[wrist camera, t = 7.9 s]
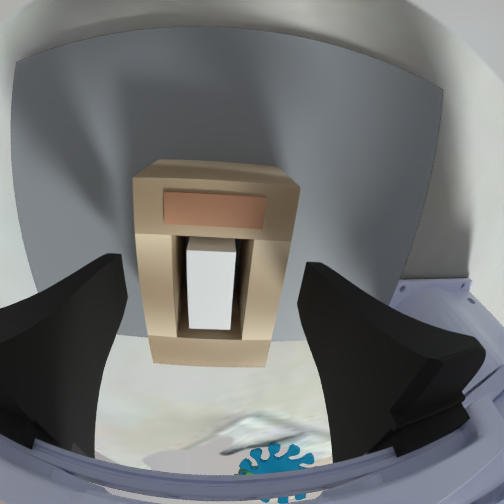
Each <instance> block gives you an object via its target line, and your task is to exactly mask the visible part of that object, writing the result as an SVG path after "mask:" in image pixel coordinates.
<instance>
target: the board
mask: <svg viewBox="0 0 504 504" xmlns="http://www.w3.org/2000/svg"><path fill="white" fill-rule="evenodd" d="M442 99H443V89H441V88H440V87H438V86H436V85H434V84H432V83H430V82H428V81H426V80H424V79H422V78H420V77H418V76H416V75H414V74H412V73H410V72H407V71H405V70H403V69H401V68H398V67H396V66H393V65H391V64H389V63H386V62H384V61H381V60H378V59H376V58H373V57H370V56H367V55H364V54H361V53H359V52H355V51H352V50H349V49H346V48H343V47H339V46H336V45H332V44H328V43H324V42H320V41H316V40H312V39H308V38H303V37H298V36H293V35H287V34H282V33H275V32H269V31H261V30H253V29H243V28H230V27H206V26H188V27H164V28H152V29H142V30H134V31H126V32H120V33H114V34H108V35H103V36H98V37H94V38H89V39H85V40H81V41H77V42H73V43H70V44H66V45H63V46H59V47H56V48H53V49H50V50H47V51H44V52H41V53H38V54H36V55H33V56H30V57H28V58H25V59H23V60H20V61H18V62H16V67H15V74H14V82H13V92H12V105H11V160H12V173H13V183H14V192H15V199H16V206H17V212H18V218H19V223H20V228H21V233H22V237H23V242H24V246H25V250H26V254H27V258H28V261H29V265H30V268H31V272H32V275H33V278H34V282H35V285H36V288H37V291H38V293H39V292H41V291H43V290H45V289H47V288H49V287H51V286H52V285H54V284H56V283H57V282H59V281H61V280H62V279H64V278H66V277H68V276H69V275H71V274H73V273H74V272H76V271H77V270H79V269H80V268H82V267H84V266H85V265H87V264H89V263H90V262H92V261H93V260H95V259H97V258H99V257H100V256H102V255H104V254H107V253H116V254H122V262H123V269H124V275H125V282H126V288H127V293H128V300H127V304H126V308H125V312H124V315H123V319H122V321H121V324H120V326H119V329H118V332H117V334H119V335H128V336H138V337H148V333H147V328H146V322H145V316H144V309H143V303H142V296H141V288H140V281H139V272H138V263H137V252H136V240H135V226H134V206H133V177H134V176H136V175H137V174H138V173H140V172H141V171H143V170H144V169H145V168H147V167H148V166H150V165H151V164H153V163H154V162H156V161H157V160H159V159H171V160H201V161H219V162H233V163H246V164H257V165H267V166H276V167H279V168H280V169H281V170H282V171H283V172H284V173H286V174H287V175H288V176H289V177H290V178H291V179H292V180H293V181H294V182H295V183H297V184H298V185H299V186H300V187H301V190H300V196H299V202H298V208H297V213H296V219H295V225H294V230H293V236H292V241H291V246H290V252H289V257H288V262H287V267H286V272H285V277H284V282H283V287H282V292H281V297H280V302H279V306H278V311H277V316H276V320H275V325H274V330H273V334H272V339H271V341H300V340H307V339H306V336H305V334H304V331H303V328H302V325H301V321H300V317H299V312H298V307H297V301H298V296H299V292H300V288H301V283H302V279H303V274H304V270H305V265H306V262H321V263H323V264H325V265H327V266H328V267H330V268H331V269H333V270H334V271H336V272H337V273H339V274H340V275H341V276H343V277H344V278H346V279H347V280H349V281H350V282H351V283H353V284H354V285H356V286H357V287H359V288H360V289H362V290H363V291H365V292H366V293H368V294H369V295H371V296H372V297H374V298H376V299H377V300H379V301H381V302H382V303H384V304H386V305H388V306H389V304H390V302H391V299H392V297H393V295H394V292H395V290H396V287H397V285H398V282H399V280H400V277H401V274H402V272H403V269H404V266H405V264H406V261H407V258H408V255H409V252H410V249H411V246H412V243H413V240H414V237H415V234H416V231H417V227H418V224H419V221H420V217H421V214H422V210H423V206H424V202H425V199H426V195H427V190H428V186H429V182H430V177H431V173H432V168H433V163H434V158H435V152H436V146H437V140H438V134H439V126H440V119H441V110H442ZM241 240H242V239H236V238H218V237H199V236H184V260H185V286H186V287H187V292H188V315H189V328H192V329H219V330H230V326H231V312H232V298H233V289H237V279H238V269H239V259H240V250H241Z"/></svg>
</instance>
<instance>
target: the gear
mask: <svg viewBox="0 0 504 504" xmlns="http://www.w3.org/2000/svg"><path fill="white" fill-rule="evenodd" d="M268 450H269V452H270V457H269V459H267V460H262V459H261V454H262V450H261V449H260V448H256V449H253V450H251V452H250V456H251V457H252V458H254V459H255V460H256V462H257V464H258V466H252V462H251V461H250V460H249V459H244V460H243V461H242V462H241V463H240V465H239V467H240V470H239V472H238V473H239V474H234V475H252V474H266V473H277V472H285V471H293V470H300V469H306V468H305V467H301V466H299V464H301V463H305V464H313V463H314V457H313V455H312V453H308V454H306V455H305V456H304V457H302V458H299V459H294V460H291V459H289V458H288V457H290V456H295V455H298V454H299V452H300V448H299V447H298V446H296V445H294V444H292V445H290V447H289V449H288V452H287V453H286V454H284V455H283V456H281V457H276V456H274V454H276V453H278V452H279V450H280V444H276V443H271V444H270V445H269V448H268ZM315 467H318V466H315ZM303 498H306V494H301V495H295V499H296V500H301V499H303ZM269 500H270V499H261V501H263V502H265V503H266V502H269ZM278 503H280V504H284V503H288V497H280V498H278Z"/></svg>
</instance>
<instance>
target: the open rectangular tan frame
mask: <svg viewBox="0 0 504 504" xmlns="http://www.w3.org/2000/svg"><path fill="white" fill-rule="evenodd" d="M300 190H301V187H300V186H299V185H298V184H297V183H295V182H294V181H293V180H292V179H291V178H290V177H289V176H288V175H287V174H286V173H284V172H283V171H282V170H281V169H280V168H279V167H276V166H267V165H257V164H246V163H233V162H219V161H201V160H171V159H159V160H157V161H156V162H154V163H153V164H151V165H150V166H148V167H147V168H145V169H144V170H143V171H141V172H140V173H138V174H137V175H136V176H134V177H133V206H134V226H135V240H136V252H137V263H138V272H139V281H140V288H141V296H142V303H143V309H144V316H145V322H146V328H147V333H148V339H149V344H150V349H151V354H152V358H153V363H159V364H171V365H185V366H203V367H265V365H266V360H267V356H268V352H269V347H270V343H271V339H272V334H273V330H274V325H275V320H276V316H277V311H278V306H279V302H280V297H281V292H282V287H283V282H284V277H285V272H286V267H287V262H288V257H289V252H290V246H291V241H292V236H293V230H294V225H295V219H296V213H297V208H298V202H299V196H300ZM184 236H199V237H218V238H236V239H242V240H241V250H240V259H239V269H238V279H237V289H233V298H232V312H231V326H230V330H219V329H192V328H189V315H188V292H187V287H186V286H185V260H184Z"/></svg>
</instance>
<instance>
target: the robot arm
mask: <svg viewBox="0 0 504 504" xmlns="http://www.w3.org/2000/svg"><path fill="white" fill-rule="evenodd" d="M471 286H472V280H471V279H470V278H455V279H412V280H399V282H398V285H397V287H396V290H395V292H394V295H393V297H392V299H391V302H390V304H389V306H388V305H386V304H384V303H382V302H381V301H379V300H377V299H376V298H374V297H372V296H371V295H369V294H368V293H366V292H365V291H363V290H362V289H360V288H359V287H357V286H356V285H354V284H353V283H351V282H350V281H349V280H347V279H346V278H344V277H343V276H341V275H340V274H339V273H337V272H336V271H334V270H333V269H331V268H330V267H328V266H327V265H325V264H323V263H321V262H306V265H305V270H304V274H303V279H302V283H301V288H300V292H299V296H298V301H297V307H298V312H299V317H300V321H301V325H302V328H303V331H304V334H305V336H306V339H307V342H308V344H309V347H310V350H311V353H312V355H313V358H314V361H315V363H316V366H317V369H318V372H319V376H320V380H321V384H322V389H323V393H324V398H325V403H326V409H327V414H328V421H329V428H330V435H331V445H332V457H333V463H332V464H328V465H323V466H318V467H312V468H306V469H300V470H293V471H285V472H277V473H266V474H252V475H192V474H179V473H168V472H160V471H152V470H146V469H139V468H134V467H128V466H123V465H118V464H114V463H109V462H105V461H101V460H97V459H95V455H94V443H95V422H96V411H97V403H98V397H99V390H100V385H101V380H102V375H103V371H104V367H105V364H106V361H107V358H108V355H109V352H110V350H111V347H112V344H113V342H114V339H115V337H116V334H117V332H118V329H119V326H120V324H121V321H122V319H123V315H124V312H125V308H126V304H127V300H128V293H127V288H126V282H125V275H124V269H123V262H122V254H116V253H107V254H104V255H102V256H100V257H99V258H97V259H95V260H93V261H92V262H90V263H89V264H87V265H85V266H84V267H82V268H80V269H79V270H77V271H76V272H74V273H73V274H71V275H69V276H68V277H66V278H64V279H62V280H61V281H59V282H57V283H56V284H54V285H52V286H51V287H49V288H47V289H45V290H43V291H41V292H39V293H37V294H35V295H33V296H31V297H29V298H27V299H24V300H22V301H19V302H17V303H14V304H12V305H9V306H7V307H4V308H1V309H0V499H1V500H2V501H3V502H5V503H6V504H159V503H152V502H145V501H139V500H134V499H129V498H125V497H120V496H116V495H112V494H110V493H109V492H107V491H106V490H105V489H104V488H103V487H101V486H98V485H95V484H99V485H102V486H106V487H110V488H114V489H118V490H122V491H127V492H132V493H137V494H143V495H149V496H156V497H163V498H173V499H182V500H197V501H246V500H261V499H271V498H280V497H288V496H294V495H301V494H306V493H312V492H317V491H321V490H324V491H323V492H322V493H321V495H320V496H319V497H317V498H315V499H312V500H305V501H298V502H291V503H284V504H504V327H503V326H502V325H501V324H500V323H499V322H498V321H497V319H496V318H495V317H494V316H493V315H492V314H491V313H490V312H489V311H488V310H487V309H486V308H485V307H484V306H483V305H482V304H481V303H480V302H479V301H478V300H477V299H476V298H475V297H474V296H473V295H472V294H471V293H470V292H469V290H470V288H471ZM90 482H91V483H90ZM92 483H95V484H92ZM326 489H327V490H326Z"/></svg>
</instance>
